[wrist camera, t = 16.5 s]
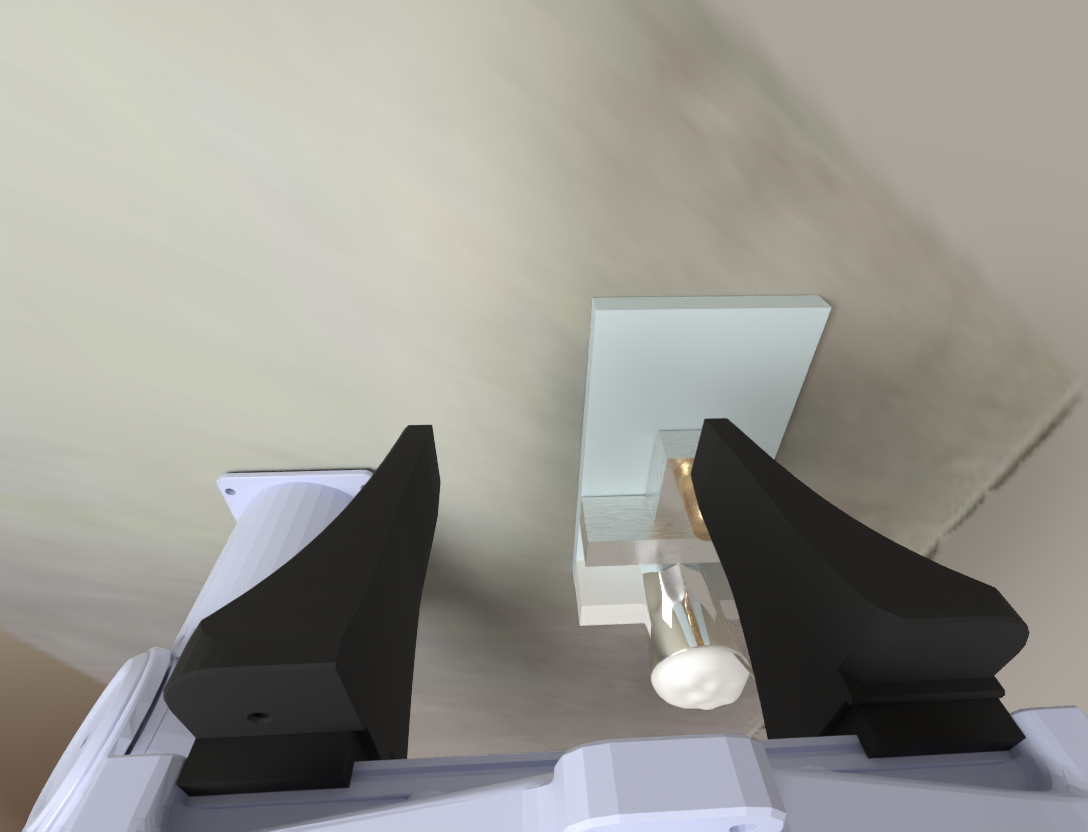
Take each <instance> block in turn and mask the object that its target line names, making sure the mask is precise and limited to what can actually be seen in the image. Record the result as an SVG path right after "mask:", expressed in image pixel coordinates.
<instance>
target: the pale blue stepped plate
mask: <svg viewBox="0 0 1088 832" xmlns="http://www.w3.org/2000/svg"><path fill="white" fill-rule="evenodd" d="M831 308H832V307H831V306H830V305H828V304H827V303H826V302H825V301H824V300H823V299H822V298H821V297H820V296H819V295H789V296H700V297H611V298H592V311H591V325H590V338H589V352H588V365H587V379H586V392H585V405H584V419H583V432H582V446H581V459H580V473H579V486H578V500H577V513H576V527H575V540H574V554H573V567H572V570H573V579H574V585H575V588H576V597H577V605H578V614H579V623H580V626H584V625H608V624H632V623H645V620H644V613H643V607H642V600H641V593H640V586H639V579H638V572H637V565H626V566H598V567H586V566H585V559H584V551H583V544H582V537H581V530H580V510H581V497H611V496H644V495H646V492H647V487H648V481H649V476H650V470H651V465H652V460H653V454H654V449H655V444H656V438H657V433H658V431H686V430H702V426H703V422H704V419H708V418H727V419H729V420H730V421H731V422H732V423H733V424H735V425H736V426H737V427H738V428H739V429H740V430H741V431H742V432H744V433H745V434H746V435H747V436H748V437H749V438H750V439H751V440H753V441H754V442H755V443H756V444H757V445H758V446H759V447H760V448H761V449H763V450H764V451H765V452H766V453H767V454H768V455H769V456H771V457H772V458H773V459H775V456H776V454H777V451H778V448H779V446H780V443H781V440H782V438H783V435H784V433H785V430H786V427H787V425H788V422H789V419H790V417H791V414H792V411H793V409H794V406H795V403H796V401H797V398H798V395H799V393H800V390H801V387H802V385H803V382H804V379H805V377H806V374H807V372H808V369H809V366H810V364H811V361H812V358H813V356H814V353H815V350H816V348H817V345H818V342H819V340H820V337H821V334H822V332H823V329H824V326H825V324H826V321H827V318H828V316H829V313H830V310H831ZM702 564H703V566H704V568H705V570H706V573H707V575H708V577H709V579H710V582H711V584H712V586H713V589H714V591H715V593H716V595H717V598H718V600H719V602H720V605H721V607H722V609H723V611H724V613H725V615H726V617H727V619H740V618H739V615H738V611H737V608H736V604H735V601H734V597H733V594H732V591H731V588H730V585H729V583H728V580H727V577H726V575H725V572H724V570H723V567H722V565H721V562H708V563H702Z"/></svg>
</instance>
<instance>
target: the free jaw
mask: <svg viewBox="0 0 1088 832" xmlns="http://www.w3.org/2000/svg"><path fill="white" fill-rule="evenodd" d="M700 434H701V430H686V431H658V433H657V438H656V444H655V449H654V454H653V460H652V465H651V470H650V476H649V481H648V487H647V492H646V495H644V496H611V497H581V510H580V530H581V537H582V544H583V551H584V559H585V566H586V567H598V566H626V565H653V564H679V563H708V562H720V560H719V557H718V555H717V552H716V550H715V548H714V545H713V543H712V540H711V538H710V535H709V533H708V530H707V528H706V525H705V523H704V520H703V518H702V515H701V513H700V510H699V507H698V503H697V500H696V496H695V492H694V488H693V483H692V479H691V475H690V474H691V470H692V466H693V462H694V458H695V454H696V450H697V446H698V442H699V438H700Z"/></svg>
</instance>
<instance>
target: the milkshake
mask: <svg viewBox="0 0 1088 832" xmlns="http://www.w3.org/2000/svg"><path fill="white" fill-rule="evenodd" d="M637 572H638V579H639V586H640V593H641V600H642V607H643V613H644V620H645V628H646V637H647V646H648V655H649V664H650V673H651V681H652V685H653V687H654V689H655V690H656V692H657V693H658V695H659V696H660V697H661V698H662V699H664V700H665V701H666V702H667V703H669V704H672V705H674V706H678V707H681V708H685V709H690V708H698V709H704V710H711V709H714V708H716V707H718V706H721V705H726V704H731V703H733V702H734V701H736V700H737V698H738V697H739V696H740V694H741V692H742V690H743V688H744V686H745V684H746V681H747V679H748V677H749V673H750V675H751V676H752V677H753V678H754V679H755V677H754V672H753V670H752V669H751V668H750V666H749V663H748V661H747V659H746V657H745V655H744V653H743V651H742V649H741V647H740V645H739V642H738V640H737V638H736V636H735V634H734V632H733V630H732V628H731V626H730V624H729V621H728V619H727V617H726V615H725V613H724V611H723V609H722V607H721V605H720V602H719V600H718V598H717V595H716V593H715V591H714V589H713V586H712V584H711V582H710V579H709V577H708V575H707V573H706V570H705V568H704V566H703V564H702V563H679V564H653V565H637Z"/></svg>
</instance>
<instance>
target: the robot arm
mask: <svg viewBox="0 0 1088 832" xmlns="http://www.w3.org/2000/svg"><path fill="white" fill-rule="evenodd" d="M690 475H691V479H692V483H693V488H694V492H695V496H696V500H697V503H698V507H699V510H700V513H701V515H702V518H703V520H704V523H705V525H706V528H707V530H708V533H709V535H710V538H711V540H712V543H713V545H714V548H715V550H716V552H717V555H718V557H719V560H720V562H721V565H722V567H723V570H724V572H725V575H726V577H727V580H728V583H729V585H730V588H731V591H732V594H733V597H734V601H735V604H736V608H737V611H738V615H739V618H740V622H741V625H742V629H743V633H744V637H745V641H746V644H747V648H748V652H749V656H750V660H751V664H752V668H753V672H754V677H755V681H756V685H757V690H758V694H759V699H760V703H761V708H762V713H763V718H764V723H765V728H766V733H767V737H768V740H754V739H752V738H750V737H748V736H746V735H742V734H727V733H717V734H698V735H679V736H660V737H641V738H622V739H607V740H600V741H594V742H588V743H583V744H581V745H579V746H577V747H574V748H572V749H570V750H564V751H546V752H527V753H508V754H490V755H471V756H452V757H434V758H415V759H407V751H408V735H409V720H410V707H411V694H412V681H413V670H414V659H415V648H416V637H417V628H418V618H419V608H420V602H421V595H422V589H423V585H424V580H425V575H426V570H427V565H428V561H429V556H430V551H431V546H432V541H433V537H434V532H435V527H436V522H437V517H438V506H439V494H440V475H439V469H438V462H437V455H436V449H435V442H434V435H433V428H432V425H408V426H407V427H406V428H405V429H404V431H403V432H402V434H401V435H400V437H399V438H398V440H397V442H396V443H395V445H394V446H393V447H392V449H391V450H390V452H389V453H388V455H387V456H386V458H385V459H384V460H383V462H382V463H381V464H380V466H379V467H378V468H377V470H376V471H375V472H374V474H373V473H372V472H370V471H368V470H337V471H299V472H262V473H226V474H222V475H221V476H220V477H219V479H218V481H217V485H218V487H219V489H220V491H221V493H222V494H223V496H224V498H225V500H226V502H227V504H228V506H229V508H230V510H231V512H232V514H233V516H234V518H235V520H236V522H237V524H236V526H235V528H234V529H233V531H232V533H231V535H230V537H229V539H228V541H227V543H226V545H225V547H224V549H223V550H222V552H221V554H220V556H219V558H218V560H217V562H216V564H215V566H214V568H213V569H212V571H211V573H210V575H209V577H208V579H207V581H206V583H205V585H204V587H203V588H202V590H201V592H200V594H199V596H198V598H197V600H196V602H195V604H194V606H193V608H192V609H191V611H190V613H189V615H188V617H187V619H186V621H185V623H184V625H183V627H182V628H181V630H180V632H179V634H178V636H177V638H176V640H175V642H174V644H173V646H172V647H171V648H170V649H169V650H167V649H164V648H161V647H153V648H151V649H149V650H148V651H147V652H146V653H142V654H140V655H137V656H135V657H133V658H131V659H129V660H128V661H127V662H126V663H125V664H124V665H123V667H122V668H121V669H120V670H119V671H118V673H117V674H116V675H115V677H114V678H113V679H112V681H111V682H110V683H109V685H108V686H107V688H106V689H105V690H104V692H103V693H102V695H101V696H100V698H99V699H98V701H97V702H96V703H95V705H94V706H93V708H92V710H91V711H90V713H89V714H88V716H87V717H86V719H85V720H84V722H83V723H82V725H81V726H80V728H79V730H78V731H77V733H76V734H75V736H74V737H73V739H72V741H71V742H70V744H69V746H68V747H67V749H66V750H65V752H64V754H63V755H62V757H61V759H60V761H59V762H58V764H57V766H56V767H55V769H54V771H53V772H52V774H51V776H50V778H49V780H48V781H47V783H46V785H45V787H44V788H43V790H42V792H41V794H40V796H39V798H38V800H37V802H36V804H35V805H34V807H33V810H32V812H31V814H30V816H29V818H28V821H27V824H26V826H25V827H24V829H23V831H22V832H1088V716H1087V715H1086V714H1085V713H1084V711H1083V710H1082V709H1081V708H1080V707H1077V706H1057V707H1037V708H1026V709H1020V710H1017V711H1014V712H1012V713H1010V714H1009V712H1008V711H1007V710H1006V708H1005V707H1004V705H1003V704H1002V703H1001V701H1000V700H999V698H1002V697H1003V696H1004V695H1005V690H1004V689H1003V687H1002V686H1001V684H1000V683H999V682H998V680H997V679H996V678H995V676H994V675H995V674H996V673H997V672H999V671H1000V670H1001V669H1002V668H1003V667H1004V666H1005V665H1006V664H1007V663H1008V662H1009V661H1010V660H1012V659H1013V658H1014V657H1015V656H1016V655H1017V654H1018V653H1019V652H1020V651H1021V649H1022V648H1023V647H1024V646H1025V645H1026V642H1027V639H1028V635H1029V630H1028V626H1027V625H1026V623H1025V622H1024V621H1023V620H1022V618H1021V617H1020V616H1019V615H1018V614H1017V613H1016V611H1015V610H1014V609H1013V608H1012V607H1011V605H1010V604H1009V603H1008V602H1007V601H1006V599H1005V598H1004V597H1003V596H1002V595H1001V593H1000V592H999V591H998V590H997V589H996V588H994V587H992V586H990V585H987V584H985V583H983V582H980V581H978V580H975V579H973V578H970V577H968V576H966V575H963V574H961V573H959V572H956V571H954V570H951V569H949V568H947V567H944V566H942V565H940V564H938V563H936V562H934V561H932V560H930V559H928V558H925V557H923V556H921V555H919V554H917V553H915V552H913V551H911V550H909V549H907V548H905V547H903V546H901V545H899V544H897V543H895V542H894V541H892V540H890V539H888V538H886V537H885V536H883V535H881V534H879V533H878V532H876V531H874V530H872V529H870V528H869V527H867V526H865V525H864V524H862V523H860V522H859V521H857V520H855V519H854V518H852V517H851V516H849V515H848V514H846V513H845V512H843V511H842V510H840V509H838V508H837V507H835V506H834V505H832V504H831V503H829V502H828V501H827V500H825V499H824V498H822V497H821V496H819V495H818V494H817V493H815V492H814V491H813V490H811V489H810V488H809V487H808V486H806V485H805V484H804V483H802V482H801V481H800V480H798V479H797V478H796V477H795V476H793V475H792V474H791V473H790V472H788V471H787V470H786V469H785V468H784V467H782V466H781V465H780V464H779V463H778V462H776V461H775V460H774V459H773V458H772V457H771V456H769V455H768V454H767V453H766V452H765V451H764V450H763V449H761V448H760V447H759V446H758V445H757V444H756V443H755V442H754V441H753V440H751V439H750V438H749V437H748V436H747V435H746V434H745V433H744V432H742V431H741V430H740V429H739V428H738V427H737V426H736V425H735V424H733V423H732V422H731V421H730V420H729V419H727V418H708V419H704V422H703V426H702V430H701V434H700V438H699V442H698V446H697V450H696V454H695V458H694V462H693V466H692V470H691V474H690ZM364 484H365V485H364ZM232 489H233V490H232Z"/></svg>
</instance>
